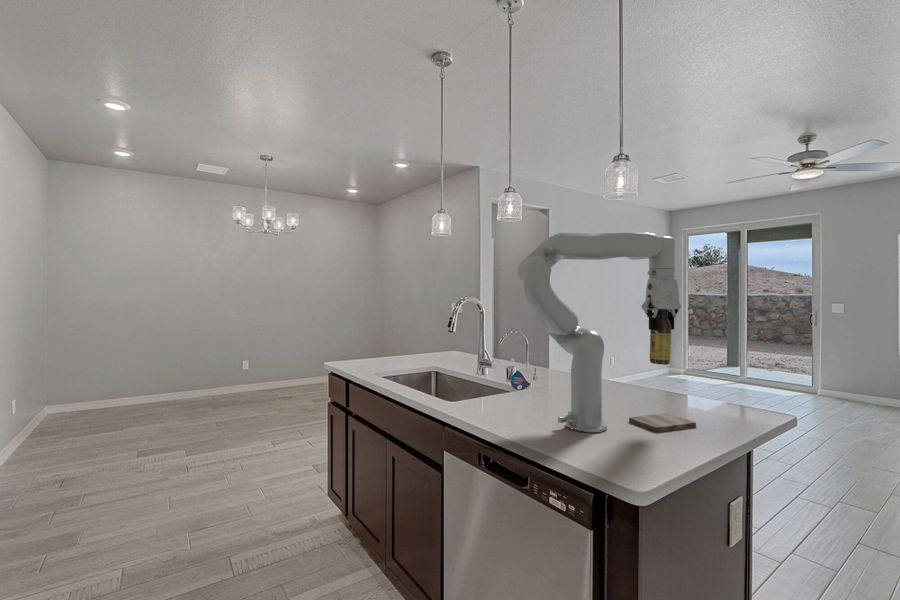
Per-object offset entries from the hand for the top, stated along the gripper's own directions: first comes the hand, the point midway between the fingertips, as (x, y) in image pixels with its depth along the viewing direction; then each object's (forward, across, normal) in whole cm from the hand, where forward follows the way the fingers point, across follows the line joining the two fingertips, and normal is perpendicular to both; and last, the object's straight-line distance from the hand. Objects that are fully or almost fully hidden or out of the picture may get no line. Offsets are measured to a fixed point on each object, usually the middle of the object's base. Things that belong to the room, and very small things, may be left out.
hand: (661, 329), depth 144 cm
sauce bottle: (+12, 0, 0) cm, 12 cm away
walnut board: (+31, 0, 0) cm, 31 cm away
